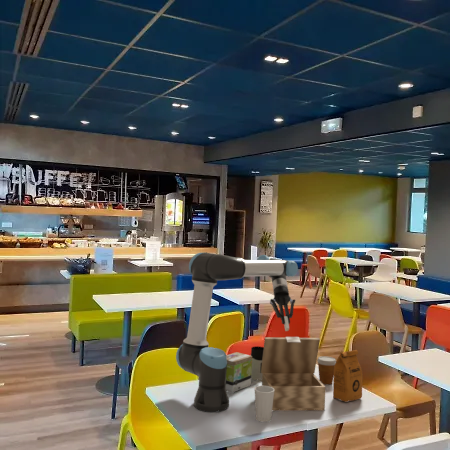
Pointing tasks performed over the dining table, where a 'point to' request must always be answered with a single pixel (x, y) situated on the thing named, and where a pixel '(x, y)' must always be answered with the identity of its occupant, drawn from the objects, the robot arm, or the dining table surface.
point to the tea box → (238, 371)
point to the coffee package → (347, 377)
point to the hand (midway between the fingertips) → (287, 329)
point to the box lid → (289, 355)
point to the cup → (264, 403)
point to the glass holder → (256, 362)
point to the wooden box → (295, 391)
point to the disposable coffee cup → (326, 369)
